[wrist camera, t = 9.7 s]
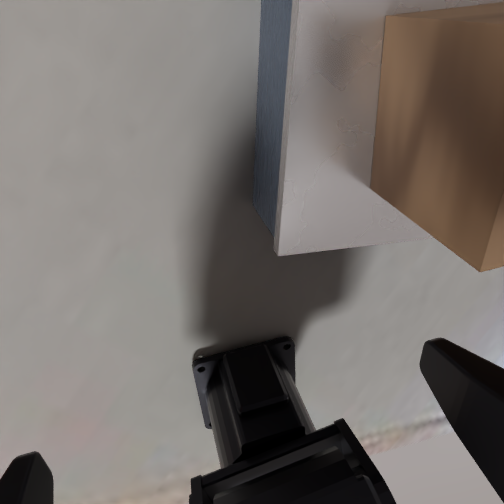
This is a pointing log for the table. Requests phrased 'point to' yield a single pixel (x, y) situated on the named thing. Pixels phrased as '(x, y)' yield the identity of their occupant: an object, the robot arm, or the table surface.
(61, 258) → the table surface
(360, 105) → the slate tin
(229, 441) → the robot arm
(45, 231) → the table surface
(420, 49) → the walnut block
